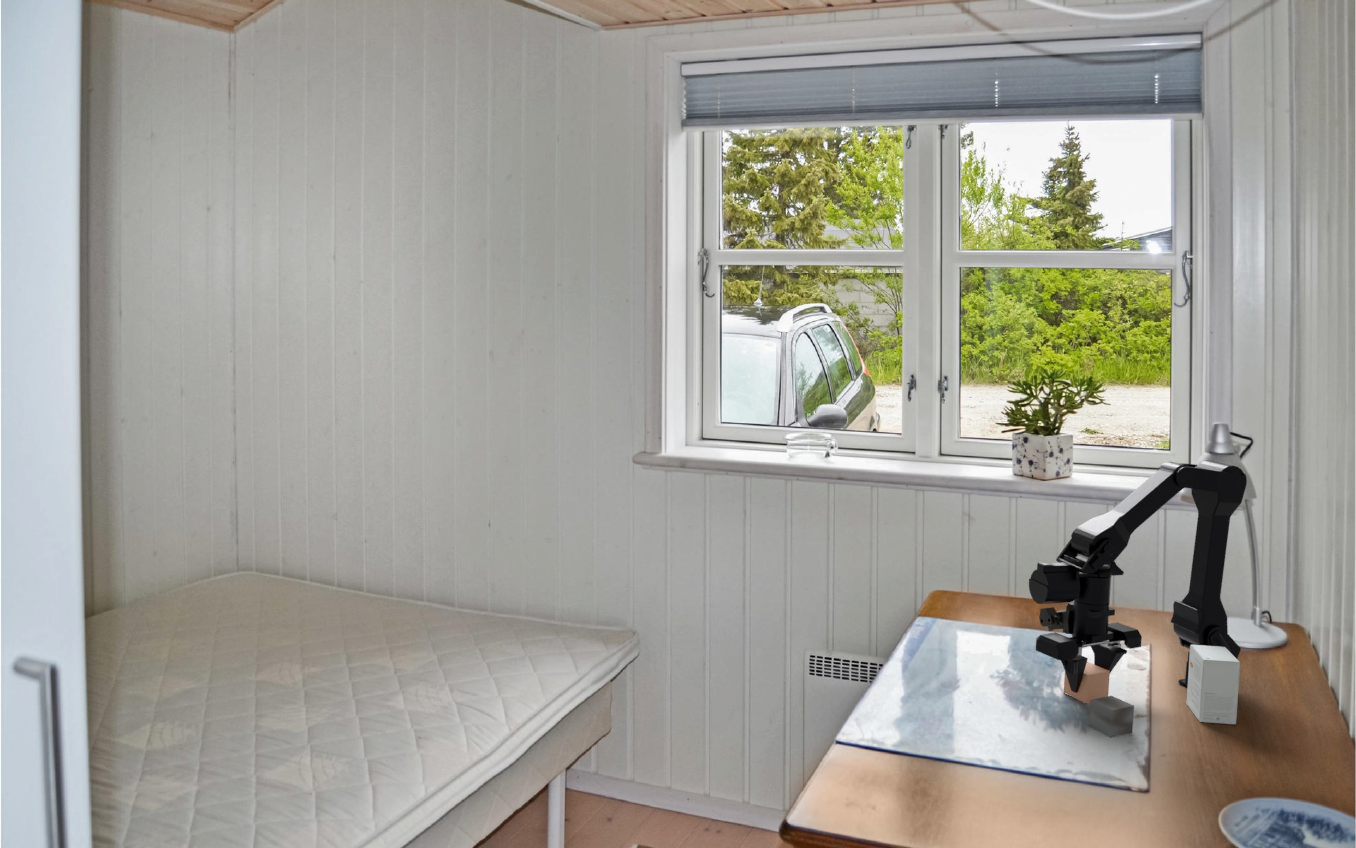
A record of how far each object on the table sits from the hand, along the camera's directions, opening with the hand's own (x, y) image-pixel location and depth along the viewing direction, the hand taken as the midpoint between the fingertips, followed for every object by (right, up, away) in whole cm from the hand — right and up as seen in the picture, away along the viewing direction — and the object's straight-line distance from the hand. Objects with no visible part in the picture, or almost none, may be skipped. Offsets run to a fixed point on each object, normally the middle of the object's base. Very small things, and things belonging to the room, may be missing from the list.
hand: (1086, 689), depth 181 cm
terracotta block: (0, -1, 0) cm, 1 cm away
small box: (+18, -3, -7) cm, 19 cm away
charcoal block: (-1, -3, -14) cm, 14 cm away
